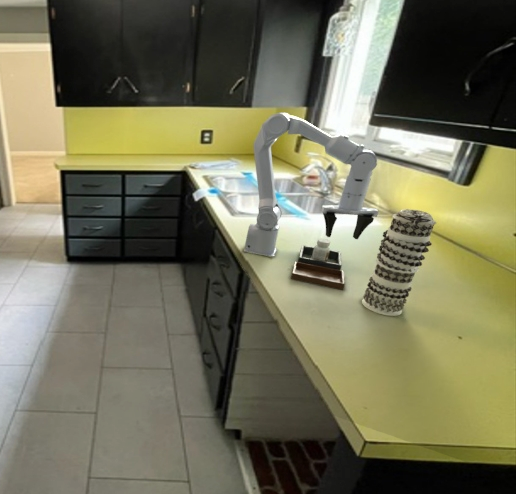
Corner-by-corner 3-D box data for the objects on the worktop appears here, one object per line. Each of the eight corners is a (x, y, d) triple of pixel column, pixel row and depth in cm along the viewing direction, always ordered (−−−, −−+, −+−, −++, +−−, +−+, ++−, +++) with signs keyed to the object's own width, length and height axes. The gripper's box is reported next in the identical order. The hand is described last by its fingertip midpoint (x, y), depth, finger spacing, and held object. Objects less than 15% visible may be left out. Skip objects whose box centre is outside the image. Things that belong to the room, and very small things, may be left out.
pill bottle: (327, 266, 113) (334, 243, 110) (312, 265, 114) (318, 242, 111) (323, 260, 117) (329, 238, 114) (308, 259, 118) (314, 237, 115)
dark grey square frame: (297, 265, 113) (299, 257, 112) (299, 253, 122) (301, 244, 121) (338, 274, 108) (341, 265, 107) (338, 260, 117) (340, 251, 116)
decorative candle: (377, 317, 88) (414, 219, 77) (352, 297, 96) (381, 206, 86) (413, 316, 88) (454, 218, 78) (384, 296, 97) (417, 206, 86)
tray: (290, 278, 106) (292, 273, 105) (293, 266, 113) (295, 261, 112) (342, 290, 100) (344, 284, 99) (342, 276, 107) (344, 270, 106)
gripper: (331, 195, 102) (319, 239, 108) (388, 198, 99) (373, 244, 105) (323, 189, 108) (312, 231, 114) (377, 192, 106) (363, 235, 111)
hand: (341, 237), depth 110 cm, fingers open, 7 cm apart
